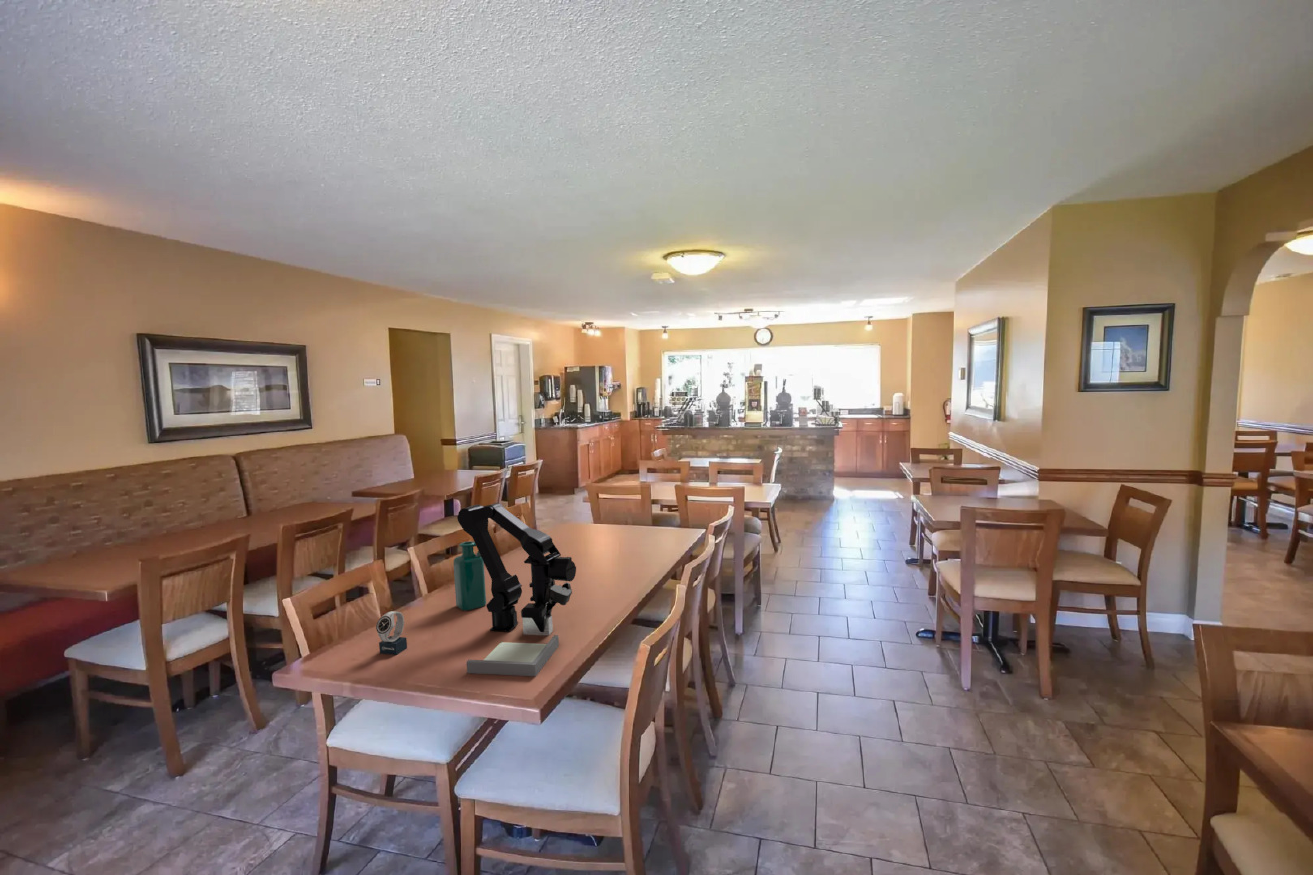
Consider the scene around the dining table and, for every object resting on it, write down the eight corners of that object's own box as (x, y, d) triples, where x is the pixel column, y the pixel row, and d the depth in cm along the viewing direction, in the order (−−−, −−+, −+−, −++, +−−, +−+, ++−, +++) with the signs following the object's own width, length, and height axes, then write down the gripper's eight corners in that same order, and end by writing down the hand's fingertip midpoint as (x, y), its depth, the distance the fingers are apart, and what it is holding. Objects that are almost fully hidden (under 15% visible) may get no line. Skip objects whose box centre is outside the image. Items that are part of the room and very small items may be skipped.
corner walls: (466, 673, 144) (466, 661, 144) (496, 643, 161) (496, 633, 161) (535, 676, 141) (535, 664, 141) (558, 645, 158) (558, 635, 158)
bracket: (523, 634, 167) (522, 617, 166) (533, 623, 175) (532, 607, 174) (549, 635, 165) (548, 618, 165) (558, 624, 173) (557, 608, 173)
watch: (374, 656, 156) (371, 617, 155) (395, 643, 164) (392, 606, 163) (391, 658, 154) (388, 619, 154) (411, 645, 162) (408, 608, 161)
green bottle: (463, 612, 186) (459, 546, 184) (454, 605, 193) (450, 542, 191) (492, 604, 192) (488, 541, 190) (482, 598, 199) (478, 536, 197)
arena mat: (474, 670, 145) (474, 669, 145) (501, 643, 161) (501, 642, 161) (533, 673, 143) (533, 672, 143) (554, 645, 158) (554, 644, 158)
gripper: (557, 589, 155) (559, 644, 157) (577, 568, 174) (579, 617, 175) (518, 588, 157) (521, 643, 158) (543, 568, 176) (545, 616, 177)
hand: (544, 629), depth 167 cm, fingers closed on bracket, 3 cm apart
